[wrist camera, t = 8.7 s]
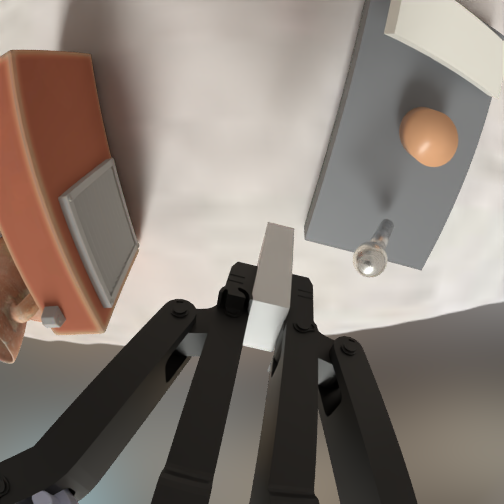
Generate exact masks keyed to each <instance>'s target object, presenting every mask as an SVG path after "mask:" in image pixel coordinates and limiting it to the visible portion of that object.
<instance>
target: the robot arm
mask: <svg viewBox="0 0 504 504" xmlns="http://www.w3.org/2000/svg"><path fill="white" fill-rule="evenodd" d="M293 244H294V228H290V227H286V226H282V225H278V224H274V223H270V222H268V224H267V228H266V232H265V236H264V240H263V244H262V248H261V252H260V256H259V260H258V264H257V266H254V265H249V264H245V263H241V262H237V263H236V264H235V265H233V266H232V268H231V271H230V273H229V276H228V280H227V282H226V285H225V286H224V287H222V288H221V290H220V291H219V295H218V301H217V305H216V306H214V307H212V308H209V309H196V308H195V306H194V305H193V304H192V303H190V302H189V301H186V300H183V299H174V300H171V301H169V302H167V303H166V304H165V305H164V306H163V307H162V308H161V309H160V310H159V311H158V312H157V313H156V314H155V315H154V316H153V317H152V318H151V319H150V320H149V321H148V323H147V324H146V325H145V326H144V327H143V328H142V329H141V330H140V331H139V332H138V333H137V334H136V335H135V336H134V337H133V338H132V339H131V340H130V341H129V342H128V344H127V345H126V346H125V347H124V348H123V349H122V350H121V351H120V352H119V353H118V354H117V355H116V357H114V359H113V360H112V361H111V362H110V363H109V364H108V365H107V366H106V367H105V368H104V369H103V370H102V371H101V372H100V374H99V375H98V376H97V377H96V378H95V379H94V380H93V381H92V382H91V383H90V384H89V385H88V387H87V388H86V389H85V390H84V391H83V392H82V393H81V394H80V395H79V397H77V399H76V400H75V401H74V402H73V403H72V404H71V405H70V406H69V407H68V409H67V410H66V411H65V412H64V413H63V414H62V415H61V417H59V419H58V420H57V421H56V422H55V423H54V424H53V425H52V427H50V429H49V430H48V431H47V432H46V433H45V434H44V436H43V437H42V438H41V439H40V440H39V441H38V442H37V443H36V444H35V446H34V447H32V448H29V449H27V450H25V451H23V452H21V453H19V454H17V455H15V456H13V457H11V458H9V459H6V460H4V461H2V462H0V504H78V501H79V500H81V499H82V498H83V497H85V496H86V495H87V494H88V493H89V492H90V491H91V490H92V489H93V488H94V487H95V486H96V485H97V483H98V482H99V481H100V480H101V478H102V477H103V476H104V474H105V473H106V472H107V470H108V469H109V468H110V466H111V465H112V464H113V462H114V461H115V460H116V458H117V457H118V455H119V454H120V453H121V452H122V450H123V449H124V448H125V446H126V445H127V444H128V442H129V441H130V440H131V438H132V437H133V436H134V434H135V433H136V432H137V430H138V429H139V428H140V426H141V425H142V424H143V422H144V421H145V420H146V418H147V417H148V415H149V414H150V413H151V412H152V410H153V409H154V408H155V406H156V405H157V403H158V402H159V401H160V399H161V398H162V397H163V395H164V394H165V393H166V391H167V390H168V388H169V387H170V386H171V385H172V383H173V382H174V380H175V379H176V378H177V376H178V375H179V374H180V372H181V371H182V370H183V368H184V367H185V365H186V364H187V363H188V361H189V360H190V358H191V357H192V356H200V358H199V361H198V365H197V368H196V371H195V374H194V377H193V380H192V383H191V386H190V389H189V392H188V395H187V398H186V402H185V405H184V408H183V411H182V414H181V417H180V420H179V424H178V427H177V430H176V433H175V436H174V439H173V443H172V446H171V449H170V452H169V455H168V459H167V462H166V465H165V467H164V469H163V470H162V472H161V474H160V476H159V479H158V482H157V485H156V489H155V492H154V495H153V498H152V502H151V504H208V503H209V499H210V494H211V489H212V483H213V477H214V473H215V468H216V464H217V459H218V455H219V450H220V446H221V442H222V437H223V432H224V428H225V424H226V419H227V414H228V410H229V405H230V401H231V396H232V391H233V387H234V383H235V378H236V373H237V368H238V364H239V359H240V355H241V350H242V345H244V346H248V347H252V348H257V349H261V350H266V351H270V352H273V350H274V348H275V351H274V356H273V358H272V361H271V363H270V366H269V368H268V370H267V372H270V374H269V381H268V389H267V396H266V403H265V410H264V417H263V424H262V431H261V436H260V443H259V449H258V456H257V463H256V468H255V474H254V480H253V486H252V492H251V498H250V503H249V504H319V500H318V498H317V497H316V496H315V494H314V480H315V465H316V444H317V419H318V410H319V414H320V418H321V421H322V426H323V430H324V434H325V438H326V443H327V447H328V451H329V455H330V460H331V464H332V468H333V473H334V477H335V481H336V486H337V490H338V495H339V499H340V504H417V500H416V497H415V494H414V490H413V487H412V484H411V480H410V477H409V474H408V471H407V468H406V464H405V462H404V458H403V455H402V452H401V449H400V446H399V444H398V441H397V438H396V435H395V432H394V429H393V426H392V424H391V421H390V418H389V415H388V412H387V410H386V407H385V405H384V401H383V399H382V396H381V394H380V391H379V388H378V386H377V383H376V380H375V378H374V375H373V373H372V370H371V368H370V365H369V363H368V360H367V358H366V355H365V353H364V350H363V348H362V346H361V345H360V343H358V342H357V341H356V340H355V339H353V338H351V337H346V336H343V337H339V338H337V339H336V340H332V339H330V338H328V337H326V336H324V335H323V334H321V333H320V332H319V331H318V329H317V325H316V324H315V323H314V320H313V285H312V283H311V281H310V280H309V278H307V277H302V276H298V275H294V274H292V264H293Z"/></svg>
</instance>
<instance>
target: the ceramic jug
mask: <svg viewBox="0 0 504 504" xmlns="http://www.w3.org/2000/svg"><path fill="white" fill-rule="evenodd" d="M41 316H42V313H41V311H40V309H39V308H38V306H37V304H36V302H35V301H34V299H33V297H32V295H31V294H30V292H29V290H28V288H27V286H26V284H25V282H24V281H23V279H22V277H21V275H20V273H19V271H18V269H17V267H16V265H15V263H14V261H13V259H12V256H11V254H10V252H9V250H8V248H7V245H6V243H5V241H4V239H3V237H1V238H0V361H2V362H4V363H13V362H14V361H15V359H16V357H17V355H18V352H19V349H20V347H21V344H22V340H23V336H24V332H25V328H26V323H27V321H29V320H34V321H38V322H42V320H41Z"/></svg>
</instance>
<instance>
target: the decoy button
mask: <svg viewBox="0 0 504 504" xmlns="http://www.w3.org/2000/svg"><path fill="white" fill-rule="evenodd" d="M399 135H400V140H401V143H402V145H403V147H404V149H405V150H406V151H407V152H408V153H409V154H410V155H411V156H413V157H414V158H415V159H416V160H418V161H419V162H420V163H422V164H423V165H426V166H429V167H439V166H442V165H444V164H446V163H447V162H449V161H450V160H451V159H452V157H453V156H454V154H455V152H456V150H457V146H458V133H457V129H456V127H455V125H454V123H453V121H452V120H451V119H450V118H449V117H448V116H447V115H445V114H444V113H442V112H439V111H436V110H433V109H430V108H427V107H417V108H414V109H412V110H410V111H409V112H408V113H407V114H406V115H405V116H404V117H403V119H402V121H401V124H400V129H399Z"/></svg>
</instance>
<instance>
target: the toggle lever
mask: <svg viewBox="0 0 504 504" xmlns="http://www.w3.org/2000/svg"><path fill="white" fill-rule="evenodd" d="M393 229H394V224H393V222H392V221H391V220H389V219H384V220H382V221H381V222H380V224H379V226H378V228H377V230H376V231H375V233H374V235H373V237H372V238H371V240H370V241H369V242H364V243H362V244H361V245H359V246H358V247H357V248H356V250H355V252H354V255H353V265H354V267H355V269H356V271H357V272H358V273H359V274H361V275H362V276H365V277H376V276H378V275H380V274H381V273H382V272H383V271H384V270H385V268H386V266H387V261H388V258H387V253H386V251H385V248H386V246H387V244H388V241H389V239H390V237H391V234H392V232H393Z"/></svg>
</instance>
